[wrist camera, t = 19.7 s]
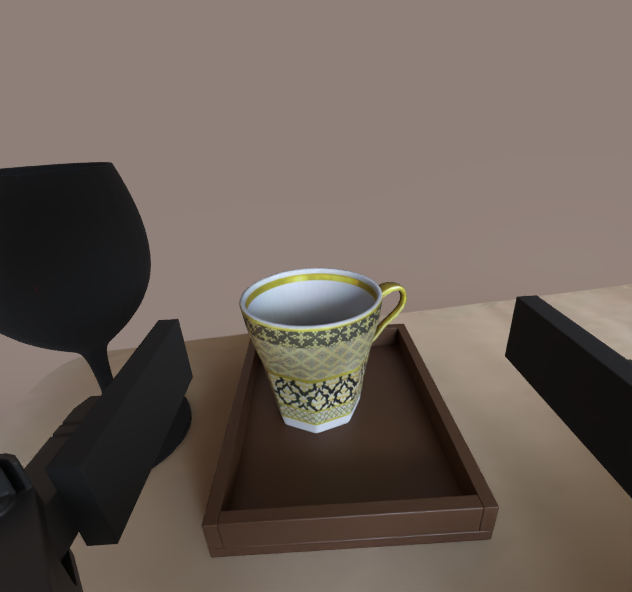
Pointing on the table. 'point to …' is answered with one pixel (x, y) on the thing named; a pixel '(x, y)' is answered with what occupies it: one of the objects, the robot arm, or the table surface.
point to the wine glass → (74, 265)
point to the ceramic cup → (316, 339)
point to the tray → (347, 467)
